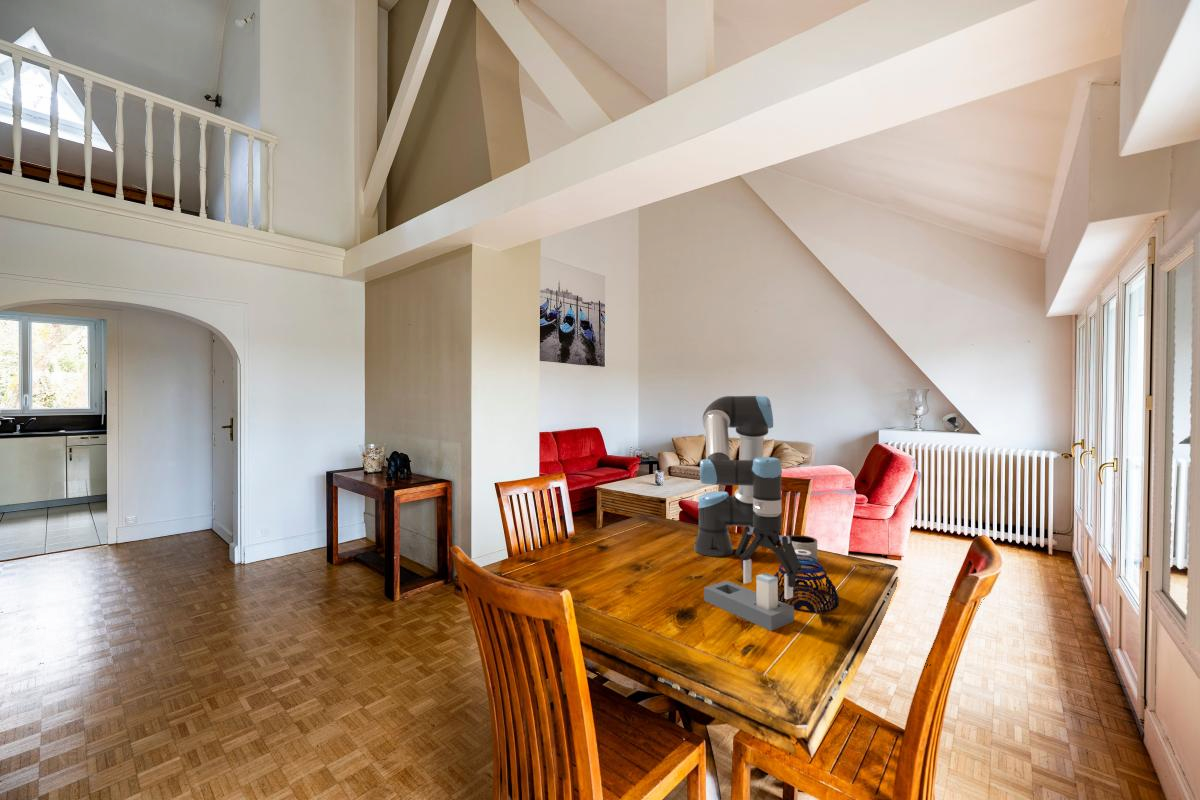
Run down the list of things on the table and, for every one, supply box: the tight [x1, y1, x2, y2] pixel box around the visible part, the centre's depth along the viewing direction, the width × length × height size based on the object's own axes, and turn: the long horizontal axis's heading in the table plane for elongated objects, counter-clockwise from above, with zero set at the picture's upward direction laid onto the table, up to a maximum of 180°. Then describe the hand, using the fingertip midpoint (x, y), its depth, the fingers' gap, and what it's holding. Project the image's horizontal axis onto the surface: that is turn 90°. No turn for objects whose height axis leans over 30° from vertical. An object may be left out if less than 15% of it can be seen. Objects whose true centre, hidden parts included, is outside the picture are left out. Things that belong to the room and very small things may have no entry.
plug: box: [755, 572, 779, 611], centre depth 138 cm, size 4×4×12 cm
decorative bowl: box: [773, 549, 840, 613], centre depth 152 cm, size 20×20×14 cm
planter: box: [790, 534, 819, 570], centre depth 183 cm, size 11×11×10 cm
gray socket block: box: [703, 580, 795, 632], centre depth 144 cm, size 10×24×4 cm, turn 35°
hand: (767, 589), depth 138 cm, fingers open, 13 cm apart
